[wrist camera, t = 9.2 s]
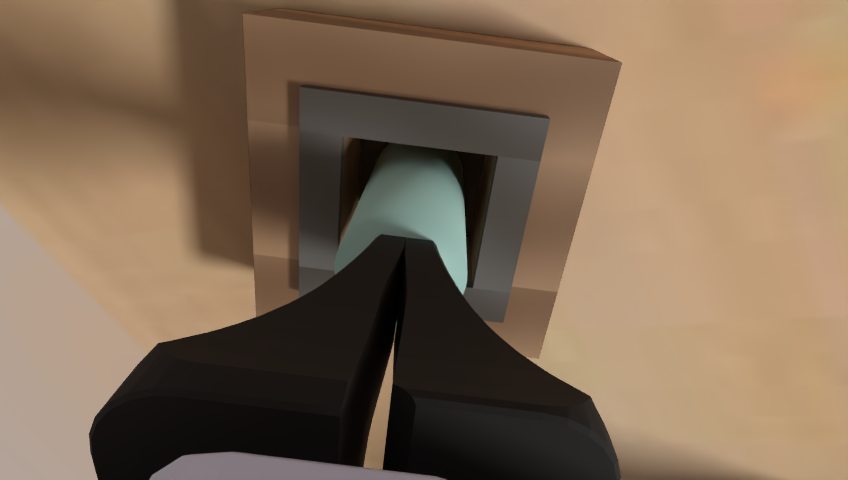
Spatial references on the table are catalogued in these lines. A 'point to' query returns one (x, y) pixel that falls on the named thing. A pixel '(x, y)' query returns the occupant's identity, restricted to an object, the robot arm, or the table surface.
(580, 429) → the robot arm
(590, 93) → the socket
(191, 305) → the table surface
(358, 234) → the peg
